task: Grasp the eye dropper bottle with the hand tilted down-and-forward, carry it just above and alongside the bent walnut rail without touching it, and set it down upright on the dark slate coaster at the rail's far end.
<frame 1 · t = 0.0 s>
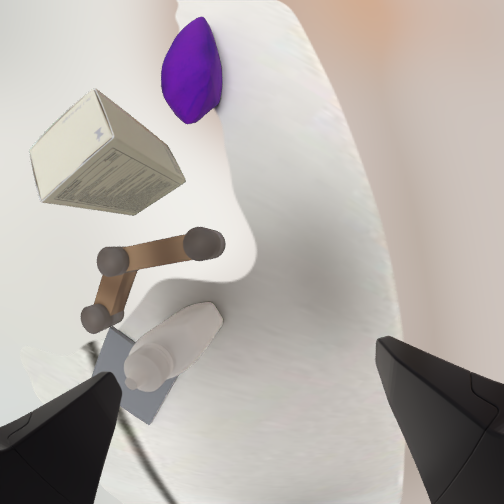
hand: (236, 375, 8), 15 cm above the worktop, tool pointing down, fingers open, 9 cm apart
rail: (131, 259, 25), on the worktop
coaster: (131, 377, 25), on the worktop
skincare box: (150, 182, 25), on the worktop
eye dropper bottle: (194, 324, 24), on the worktop
purple faceted pebble: (200, 73, 24), on the worktop
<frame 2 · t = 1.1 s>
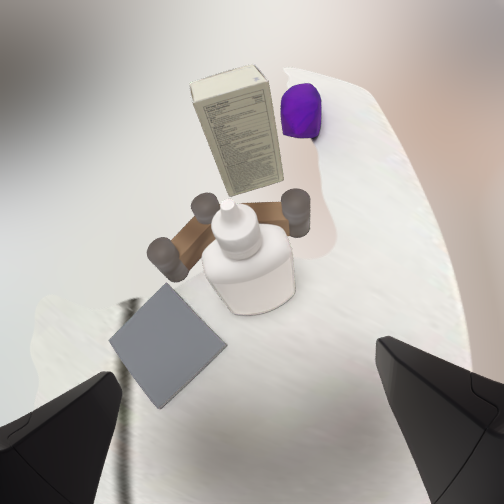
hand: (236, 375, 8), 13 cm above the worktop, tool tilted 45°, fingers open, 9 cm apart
rail: (215, 228, 28), on the worktop
coaster: (163, 344, 23), on the worktop
skincare box: (251, 178, 31), on the worktop
eye dropper bottle: (261, 295, 24), on the worktop
purple faceted pebble: (304, 120, 35), on the worktop
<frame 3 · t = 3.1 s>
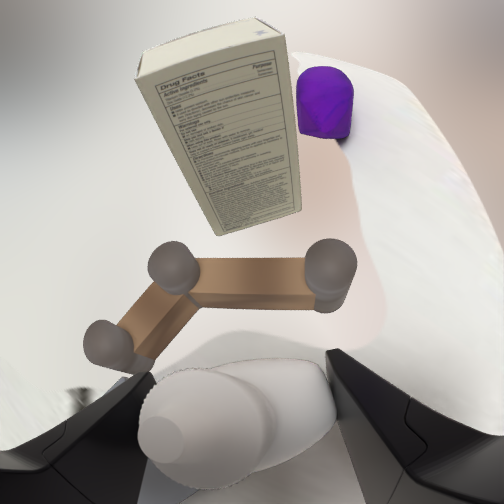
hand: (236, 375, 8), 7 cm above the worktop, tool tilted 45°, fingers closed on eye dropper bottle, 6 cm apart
rail: (194, 291, 17), on the worktop
coaster: (126, 461, 12), on the worktop
skincare box: (251, 205, 20), on the worktop
eye dropper bottle: (266, 409, 13), on the worktop, touching gripper
purple faceted pebble: (325, 113, 25), on the worktop
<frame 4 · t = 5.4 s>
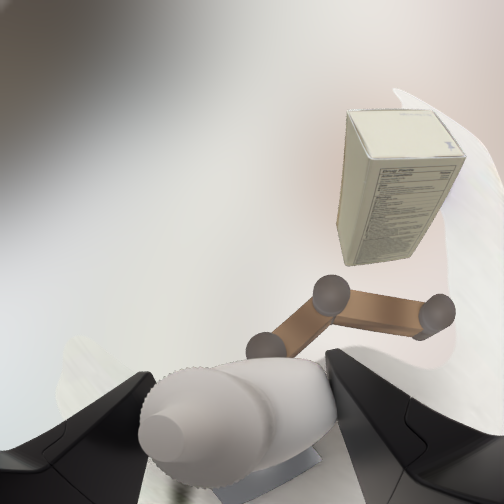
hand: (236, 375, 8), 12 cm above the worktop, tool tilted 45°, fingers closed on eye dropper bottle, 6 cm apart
rail: (326, 310, 21), on the worktop
coaster: (244, 446, 17), on the worktop
skincare box: (371, 243, 23), on the worktop
eye dropper bottle: (267, 408, 13), point 5 cm above the worktop, touching gripper
when the fingers open (8 cm above the worktop, at t = 7.5 s): eye dropper bottle stays where it is, resting on coaster.
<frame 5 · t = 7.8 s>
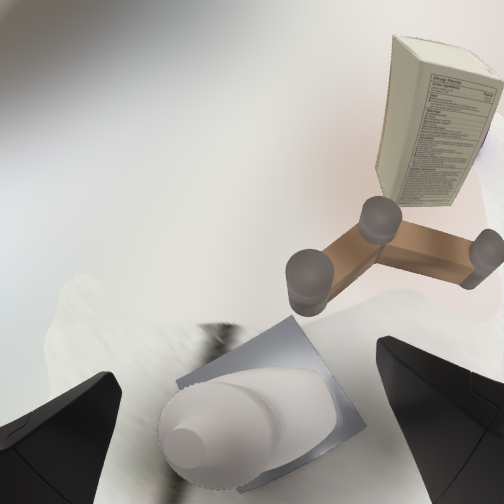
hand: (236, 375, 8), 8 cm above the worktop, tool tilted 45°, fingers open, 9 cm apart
rail: (369, 247, 18), on the worktop
coaster: (268, 408, 14), on the worktop
skincare box: (411, 189, 20), on the worktop
eye dropper bottle: (269, 411, 14), resting on coaster
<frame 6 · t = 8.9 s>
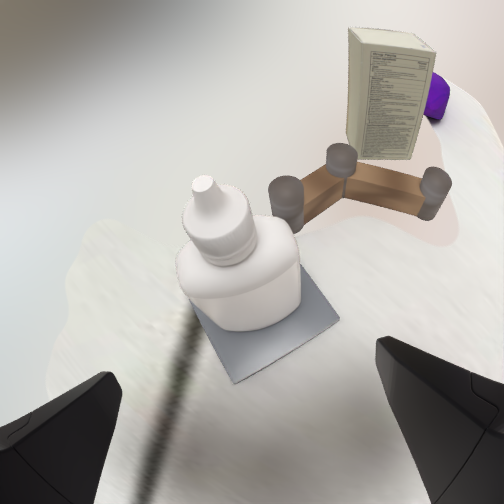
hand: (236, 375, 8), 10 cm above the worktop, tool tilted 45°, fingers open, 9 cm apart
rail: (338, 187, 23), on the worktop
coaster: (257, 305, 20), on the worktop
skincare box: (376, 148, 25), on the worktop
eye dropper bottle: (258, 305, 19), resting on coaster
purple faceted pebble: (425, 102, 28), on the worktop
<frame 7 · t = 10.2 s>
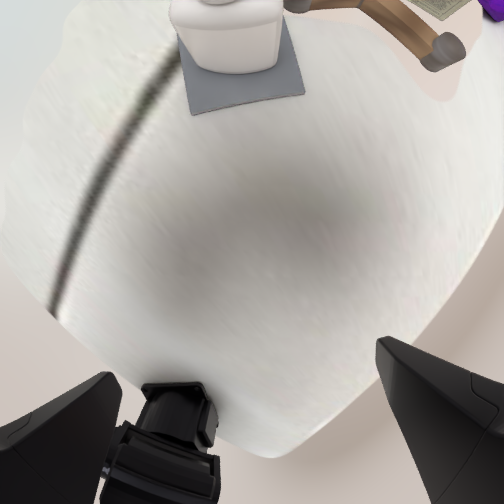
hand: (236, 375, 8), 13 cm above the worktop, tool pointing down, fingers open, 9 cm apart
coaster: (237, 55, 17), on the worktop
eye dropper bottle: (237, 55, 17), resting on coaster
purple faceted pebble: (492, 2, 12), on the worktop
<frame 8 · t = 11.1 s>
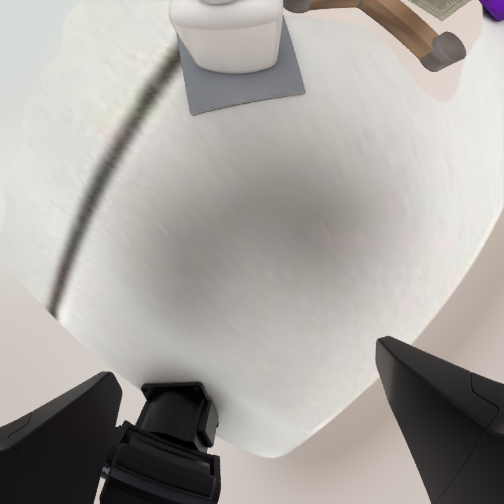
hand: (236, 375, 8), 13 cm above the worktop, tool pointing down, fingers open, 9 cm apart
coaster: (237, 55, 17), on the worktop
eye dropper bottle: (237, 55, 17), resting on coaster
purple faceted pebble: (493, 2, 12), on the worktop
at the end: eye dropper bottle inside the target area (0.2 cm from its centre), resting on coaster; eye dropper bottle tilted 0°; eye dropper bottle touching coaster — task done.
